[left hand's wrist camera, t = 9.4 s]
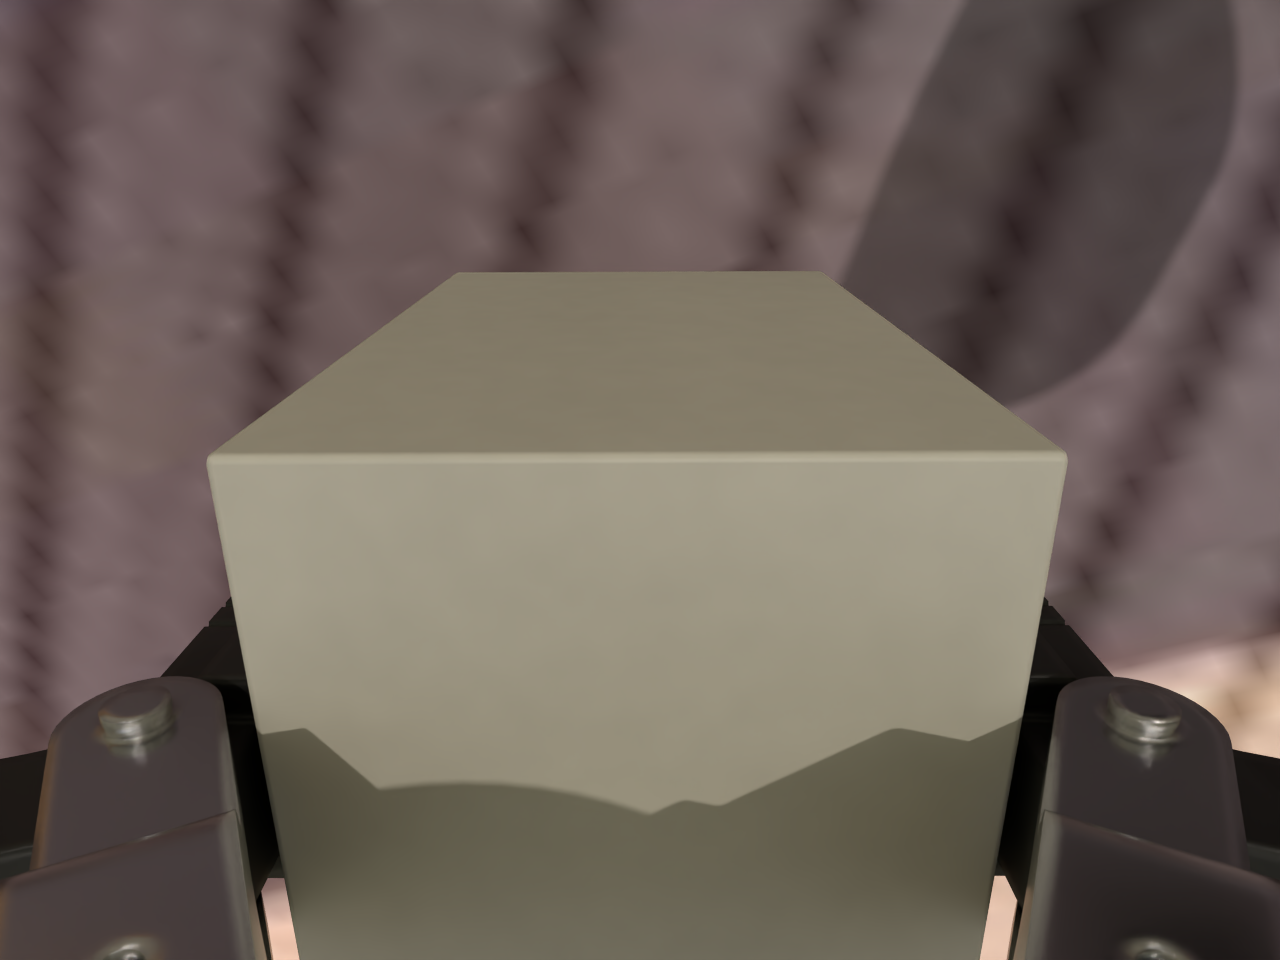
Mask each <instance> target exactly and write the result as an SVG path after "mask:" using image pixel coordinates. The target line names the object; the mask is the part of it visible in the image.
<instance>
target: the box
mask: <svg viewBox="0 0 1280 960" xmlns="http://www.w3.org/2000/svg"><path fill="white" fill-rule="evenodd" d="M1067 463H1068V459H1067V455H1066V452H1065V451H1064V450H1062V449H1061V448H1059V447H1058V446H1057V445H1055V444H1054V443H1053V442H1051V441H1050V440H1049V439H1047V438H1046V437H1045V436H1043V435H1042V434H1041V433H1039V432H1038V431H1036V430H1035V429H1034V428H1032V427H1031V426H1030V425H1028V424H1027V423H1026V422H1024V421H1023V420H1022V419H1020V418H1019V417H1017V416H1016V415H1015V414H1013V413H1012V412H1011V411H1009V410H1008V409H1007V408H1005V407H1004V406H1003V405H1001V404H1000V403H999V402H997V401H996V400H994V399H993V398H992V397H990V396H989V395H988V394H986V393H985V392H984V391H982V390H981V389H980V388H978V387H977V386H976V385H974V384H973V383H971V382H970V381H969V380H967V379H966V378H965V377H963V376H962V375H961V374H959V373H958V372H957V371H955V370H954V369H952V368H951V367H950V366H948V365H947V364H946V363H944V362H943V361H942V360H940V359H939V358H938V357H936V356H935V355H934V354H932V353H931V352H929V351H928V350H927V349H925V348H924V347H923V346H921V345H920V344H919V343H917V342H916V341H915V340H913V339H912V338H911V337H909V336H908V335H906V334H905V333H904V332H902V331H901V330H900V329H898V328H897V327H896V326H894V325H893V324H892V323H890V322H889V321H888V320H886V319H885V318H883V317H882V316H881V315H879V314H878V313H877V312H875V311H874V310H873V309H871V308H870V307H869V306H867V305H866V304H864V303H863V302H862V301H860V300H859V299H858V298H856V297H855V296H854V295H852V294H851V293H850V292H848V291H847V290H846V289H844V288H843V287H841V286H840V285H839V284H837V283H836V282H835V281H833V280H832V279H831V278H829V277H828V276H827V275H825V274H824V273H823V272H820V271H733V272H477V273H456V274H454V275H453V276H452V277H450V278H449V279H448V280H446V281H445V282H443V283H442V284H441V285H439V286H438V287H437V288H435V289H434V290H433V291H431V292H430V293H429V294H427V295H426V296H424V297H423V298H422V299H420V300H419V301H418V302H416V303H415V304H414V305H412V306H411V307H409V308H408V309H407V310H405V311H404V312H403V313H401V314H400V315H399V316H397V317H396V318H395V319H393V320H392V321H390V322H389V323H388V324H386V325H385V326H384V327H382V328H381V329H380V330H378V331H377V332H375V333H374V334H373V335H371V336H370V337H369V338H367V339H366V340H365V341H363V342H362V343H361V344H359V345H358V346H356V347H355V348H354V349H352V350H351V351H350V352H348V353H347V354H346V355H344V356H343V357H341V358H340V359H339V360H337V361H336V362H335V363H333V364H332V365H331V366H329V367H328V368H327V369H325V370H324V371H322V372H321V373H320V374H318V375H317V376H316V377H314V378H313V379H312V380H310V381H309V382H307V383H306V384H305V385H303V386H302V387H301V388H299V389H298V390H297V391H295V392H294V393H292V394H291V395H290V396H288V397H287V398H286V399H284V400H283V401H282V402H280V403H279V404H278V405H276V406H275V407H273V408H272V409H271V410H269V411H268V412H267V413H265V414H264V415H263V416H261V417H260V418H258V419H257V420H256V421H254V422H253V423H252V424H250V425H249V426H248V427H246V428H245V429H244V430H242V431H241V432H239V433H238V434H237V435H235V436H234V437H233V438H231V439H230V440H229V441H227V442H226V443H224V444H223V445H222V446H220V447H219V448H218V449H216V450H215V451H214V452H212V453H211V454H210V455H209V456H208V458H207V470H208V475H209V481H210V486H211V491H212V497H213V502H214V507H215V512H216V518H217V523H218V528H219V534H220V539H221V544H222V550H223V555H224V560H225V566H226V571H227V576H228V582H229V587H230V592H231V597H232V603H233V608H234V613H235V619H236V624H237V629H238V635H239V640H240V645H241V651H242V656H243V661H244V667H245V672H246V677H247V682H248V688H249V693H250V698H251V704H252V709H253V714H254V720H255V725H256V730H257V736H258V741H259V746H260V752H261V757H262V762H263V767H264V773H265V778H266V783H267V789H268V794H269V799H270V805H271V810H272V815H273V821H274V826H275V831H276V837H277V842H278V847H279V852H280V858H281V863H282V868H283V874H284V879H285V884H286V890H287V895H288V900H289V906H290V911H291V916H292V922H293V927H294V932H295V937H296V943H297V948H298V953H299V959H300V960H980V954H981V948H982V943H983V937H984V931H985V926H986V920H987V915H988V909H989V903H990V898H991V892H992V886H993V881H994V875H995V869H996V864H997V858H998V852H999V847H1000V841H1001V836H1002V830H1003V824H1004V819H1005V813H1006V807H1007V802H1008V796H1009V790H1010V785H1011V779H1012V774H1013V768H1014V762H1015V757H1016V751H1017V745H1018V740H1019V734H1020V728H1021V723H1022V717H1023V712H1024V706H1025V700H1026V695H1027V689H1028V683H1029V678H1030V672H1031V666H1032V661H1033V655H1034V650H1035V644H1036V638H1037V633H1038V627H1039V621H1040V616H1041V610H1042V604H1043V599H1044V593H1045V587H1046V582H1047V576H1048V571H1049V565H1050V559H1051V554H1052V548H1053V542H1054V537H1055V531H1056V525H1057V520H1058V514H1059V509H1060V503H1061V497H1062V492H1063V486H1064V480H1065V475H1066V469H1067Z"/></svg>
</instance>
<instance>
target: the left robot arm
mask: <svg viewBox="0 0 1280 960" xmlns="http://www.w3.org/2000/svg"><path fill="white" fill-rule="evenodd" d="M994 876H1006V878H1007V880H1008V882H1009V884H1010V886H1011V889H1012V891H1013V893H1014V895H1015V897H1016V899H1017V903H1016V908H1015V913H1014V918H1013V923H1012V929H1011V936H1010V942H1009V948H1008V955H1007V960H1280V759H1279V758H1274V757H1269V756H1263V755H1258V754H1253V753H1248V752H1242V751H1238V750H1234V749H1232V744H1231V740H1230V737H1229V734H1228V732H1227V731H1226V729H1225V728H1224V726H1223V725H1222V724H1221V723H1220V722H1219V721H1218V719H1217V718H1216V717H1214V716H1213V715H1212V714H1211V713H1210V712H1208V711H1207V710H1206V709H1204V708H1203V707H1201V706H1200V705H1198V704H1197V703H1195V702H1194V701H1192V700H1190V699H1188V698H1186V697H1184V696H1182V695H1180V694H1178V693H1176V692H1173V691H1171V690H1169V689H1166V688H1163V687H1160V686H1157V685H1154V684H1151V683H1147V682H1143V681H1139V680H1134V679H1129V678H1122V677H1114V676H1113V675H1112V674H1111V673H1110V672H1109V671H1108V670H1107V668H1106V667H1105V666H1104V665H1103V664H1102V663H1101V661H1100V660H1099V659H1098V658H1097V657H1096V656H1095V655H1094V653H1093V652H1092V651H1091V650H1090V649H1089V648H1088V647H1087V645H1086V644H1085V643H1084V642H1083V641H1082V640H1081V638H1080V637H1079V636H1078V635H1077V634H1076V633H1075V632H1074V630H1073V629H1072V628H1071V627H1070V626H1069V625H1065V620H1064V619H1063V618H1062V617H1061V616H1060V614H1059V613H1058V612H1057V611H1056V610H1055V609H1054V607H1053V606H1048V601H1047V599H1046V598H1045V597H1044V599H1043V604H1042V610H1041V616H1040V621H1039V627H1038V633H1037V638H1036V644H1035V650H1034V655H1033V661H1032V666H1031V672H1030V678H1029V683H1028V689H1027V695H1026V700H1025V706H1024V712H1023V717H1022V723H1021V728H1020V734H1019V740H1018V745H1017V751H1016V757H1015V762H1014V768H1013V774H1012V779H1011V785H1010V790H1009V796H1008V802H1007V807H1006V813H1005V819H1004V824H1003V830H1002V836H1001V841H1000V847H999V852H998V858H997V864H996V869H995V875H994ZM267 878H284V874H283V868H282V863H281V858H280V852H279V847H278V842H277V837H276V831H275V826H274V821H273V815H272V810H271V805H270V799H269V794H268V789H267V783H266V778H265V773H264V767H263V762H262V757H261V752H260V746H259V741H258V736H257V730H256V725H255V720H254V714H253V709H252V704H251V698H250V693H249V688H248V682H247V677H246V672H245V667H244V661H243V656H242V651H241V645H240V640H239V635H238V629H237V624H236V619H235V613H234V608H233V603H232V597H230V598H229V600H228V601H227V602H226V607H222V608H221V609H220V610H219V611H218V612H217V613H216V614H215V615H214V617H213V618H212V619H211V620H210V621H209V627H204V628H203V629H202V630H201V631H200V632H199V634H198V635H197V636H196V637H195V638H194V639H193V640H192V642H191V643H190V644H189V645H188V646H187V647H186V648H185V650H184V651H183V652H182V653H181V654H180V655H179V656H178V657H177V659H176V660H175V661H174V662H173V663H172V664H171V665H170V667H169V668H168V669H167V670H166V671H165V672H164V673H163V674H162V676H161V677H158V678H151V679H146V680H141V681H137V682H133V683H129V684H126V685H123V686H120V687H117V688H114V689H111V690H109V691H107V692H104V693H102V694H100V695H98V696H96V697H94V698H92V699H90V700H88V701H86V702H85V703H83V704H82V705H80V706H79V707H77V708H76V709H74V710H73V711H72V712H70V713H69V714H68V715H67V716H66V717H64V718H63V719H62V721H61V722H60V723H59V724H58V725H57V726H56V728H55V729H54V731H53V732H52V734H51V737H50V740H49V744H48V749H47V750H43V751H38V752H34V753H30V754H25V755H19V756H14V757H9V758H4V759H0V960H273V955H272V948H271V942H270V936H269V929H268V923H267V918H266V913H265V908H264V903H263V898H262V893H261V890H262V888H263V886H264V884H265V882H266V880H267Z"/></svg>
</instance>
